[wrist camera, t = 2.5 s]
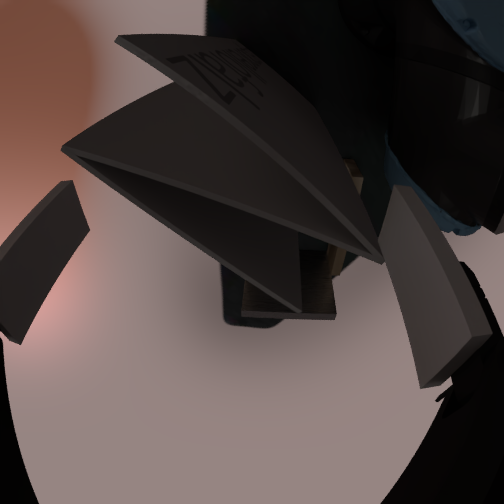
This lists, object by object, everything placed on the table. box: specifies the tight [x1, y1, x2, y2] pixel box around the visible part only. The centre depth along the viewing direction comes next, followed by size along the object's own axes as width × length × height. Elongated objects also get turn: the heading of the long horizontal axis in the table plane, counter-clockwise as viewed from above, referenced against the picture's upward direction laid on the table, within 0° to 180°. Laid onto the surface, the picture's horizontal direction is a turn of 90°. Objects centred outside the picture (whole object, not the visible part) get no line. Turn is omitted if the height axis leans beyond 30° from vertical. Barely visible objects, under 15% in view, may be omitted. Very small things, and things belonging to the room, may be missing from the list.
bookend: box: [241, 250, 337, 320], centre depth 47 cm, size 14×2×14 cm, turn 90°
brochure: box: [61, 34, 385, 314], centre depth 22 cm, size 14×6×30 cm, turn 48°
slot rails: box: [327, 159, 363, 275], centre depth 43 cm, size 17×18×6 cm
